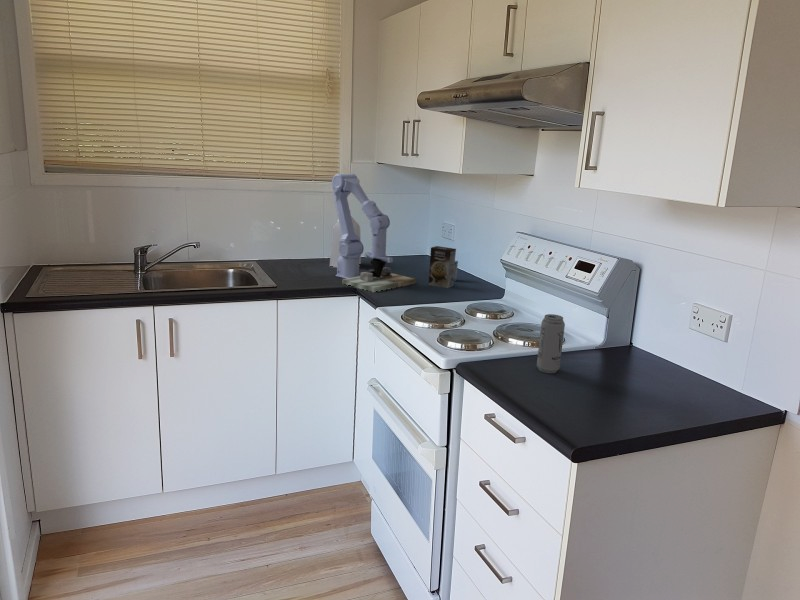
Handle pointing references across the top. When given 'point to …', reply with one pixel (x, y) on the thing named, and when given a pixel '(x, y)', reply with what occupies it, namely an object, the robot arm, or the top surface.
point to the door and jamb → (378, 281)
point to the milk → (335, 241)
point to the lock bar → (384, 272)
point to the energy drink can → (550, 343)
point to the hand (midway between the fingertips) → (377, 277)
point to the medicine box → (455, 271)
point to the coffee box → (442, 266)
